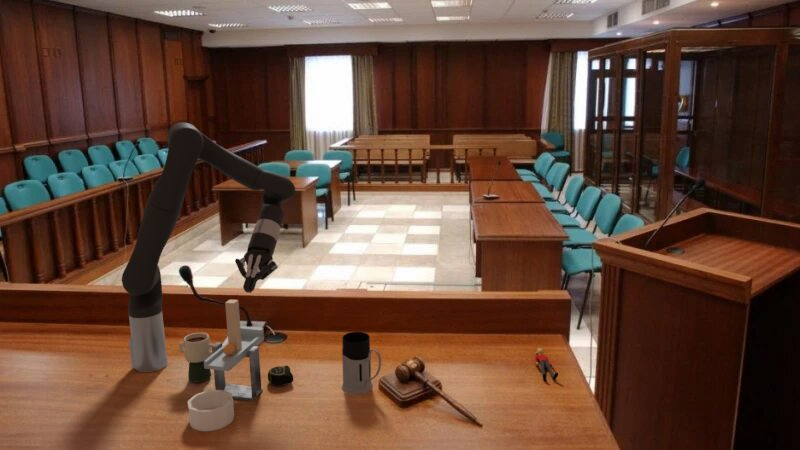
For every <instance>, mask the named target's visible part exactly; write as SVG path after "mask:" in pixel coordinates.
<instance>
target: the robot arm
mask: <svg viewBox="0 0 800 450" xmlns="http://www.w3.org/2000/svg"><path fill="white" fill-rule="evenodd" d="M166 140H167V144H168V149H167V155H166V158H165V163H164V166H163V170H162V172H161V174H160V176H159V177H158V179H157V181H156V183H155V184H154V186H153V188H152V190H151V192H150V193H149V195H148V199H147V202H146V204H145V208H144V210H143V214H142V218H141V221H140V225H139V230H138V234H137V238H136V242H135V246H134V248H133V251H132V254H131V255H130V258H129V259H128V262H127V264H126V265H125V267H124V268H125V269H124V271H123V272H122V275H121V284H122V287H123V289H124V290H125V292H127V294H129V299H128V304H127V311H128V319H129V329H130V336H131V337H129V339H128V344H129V345H128V346H129V355H130V360H131V361H130V363H131V368H132V369H134V370H136V371H137V372H140V373H153V372H156V371H160V370H162V369H163V368H165V367H166V366H168V355H167V345H166V344H167V343H166V336H165V325H164V318H163V315H164V314H163V307H162V304H163V288H162V287H163V286H162V273H161V269H160V266H159V265H158V264H159V262H160V258H161V255H162V253H163V252H164V249H165V247H166V245H167V243H168V241H169V239H170V238H171V235H172V234H173V231H174V229H175V227H176V226H177V222H178V219H179V216H180V214H181V210H182V207H183V203H184V200H185V196H186V194H187V190H188V184H189V181H190V179H191V175H192V173H193V171H194V169H195V167H196V164H197V162H198V160H201V161H203V162H205V163H207V164H209V165H210V166H212V167H214V168H215V169H216V170H218V171H220V172H221V173H222V174H224V176H227V177H228V178H230V179H231V180H233V181H235V182H237V183H238V184H240V185H242V186H244V187H245V188H247V189H248V190H252V191H254V192H255V191H256V192H257V191H263V193H262V194H261V195H262V196H261V204H260V205H261V207H260V208H261V209H260V211H259V215H258V218H257V221H256V224H254V227H253V231H252V233H251V237H250V239H249V243H248V246H247V249H246V252H245V253H244V256H243V257H241V258H240V259H239V258H236V259H235V264H236V266H237V268H238V271H239V273H240V275H241V276H242V277H243V278H244V279H245V280H244V283H243V286H242V288H243V290H244V292H246V293H247V294H248V293H252V292H254V290H255V287H256V285H257V282H258V281H259V280H261V281H264V280H265V279H266V278H268V276H270V275H271V274H272V273H273V272H274V271H276V270H277V269H278V267H279V266H278V264H277V263H276V262H275V261H274V258H273V256H274V254H275V249H276V247H277V244H278V241H279V237H280V234H281V233H280V230H281V228H282V224H283V221H284V217H285V216H284V215H285V212H284V209H283V208H282V205H283V204H284V203H285V202H287V201H288V200H291V199H292V198H293V197H294V196H295V194H296V186H295V184H294V182H293V181H292V180H291V179H289V177H287V176H284V175H282V174H279V173H275V172H274V171H273V172H272V171H268V170H266V169H263V168H261V167H259V166H258V165H256V164H254V163H252V162H250V161H249V160H246V158H245V159H244V158H243V157H241V156H239V155H238V154H235V153H233V152H231V151H229V150H228V149H226V148H225V147H223V146H221V145H219V144H218V143H217V142H215V141H213V140H211V138H209V137H208V136H206V134H204V133H202V132H201V131H200V130H199V129H198V128H197V127H196V126H195V125H194V124H191V123H188V122H177V123H175V124H173V125H172V126H171V127H170V128H169V129H168V130H167V136H166ZM245 266H246V268H245Z"/></svg>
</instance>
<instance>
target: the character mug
mask: <svg viewBox="0 0 800 450" xmlns="http://www.w3.org/2000/svg"><path fill="white" fill-rule="evenodd" d="M214 344H215V343H211V340H210V335H209V334H208V333H206V332H193V333H189V334H187V335H185V336H184V338H183V341H181V342H178V348H179V353H181V354H184V358H185V360H186V362H189V364H188V376H187V377H188V380H189V381H190V382H192V383H201V382H204V381H207V380H208V379H209V378H212V377H211V376H212V372H211V369H205V368H204V361H205V360H206V359H207V358H209V357H210V356H211V355H212V346H213V345H214Z"/></svg>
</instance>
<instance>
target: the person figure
mask: <svg viewBox="0 0 800 450" xmlns="http://www.w3.org/2000/svg"><path fill="white" fill-rule="evenodd" d="M534 364H535V365H536V366H539V367H540V370H541V376H542V380H543V382H547V374H546V372H545V371H546V370H545V369H547V370H548V372H549V375H550V377H551V379H552V380H553V381H555V380H556V379H557V378H558V376H559V373H558V372H557V371H555V373H554V372H553V369H552V368H553V367H554V364H553V363H551V362H550V360H549V357H547V356H546V355H545V354H544V350H543V348H542V347H538V348H537V349H536V350H535V356H534Z"/></svg>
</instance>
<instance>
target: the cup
mask: <svg viewBox="0 0 800 450" xmlns="http://www.w3.org/2000/svg"><path fill="white" fill-rule="evenodd" d="M234 407H235V405H234V399H233V398H232V394H231V393H229V392H227V391H224V390H215V389H209V390H204V391H202V392H198V393H196V394H193V396H192V397H191V398H189V399H188V400H187V409H188V421H189V426H190V427H191V429H193V430H194V431H197V432H202V433H203V432H205V433H206V432H214V431H218V430H221V429H223V428H226V427H228V426H230V424H231V423H233V421H234V419H235V408H234Z"/></svg>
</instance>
